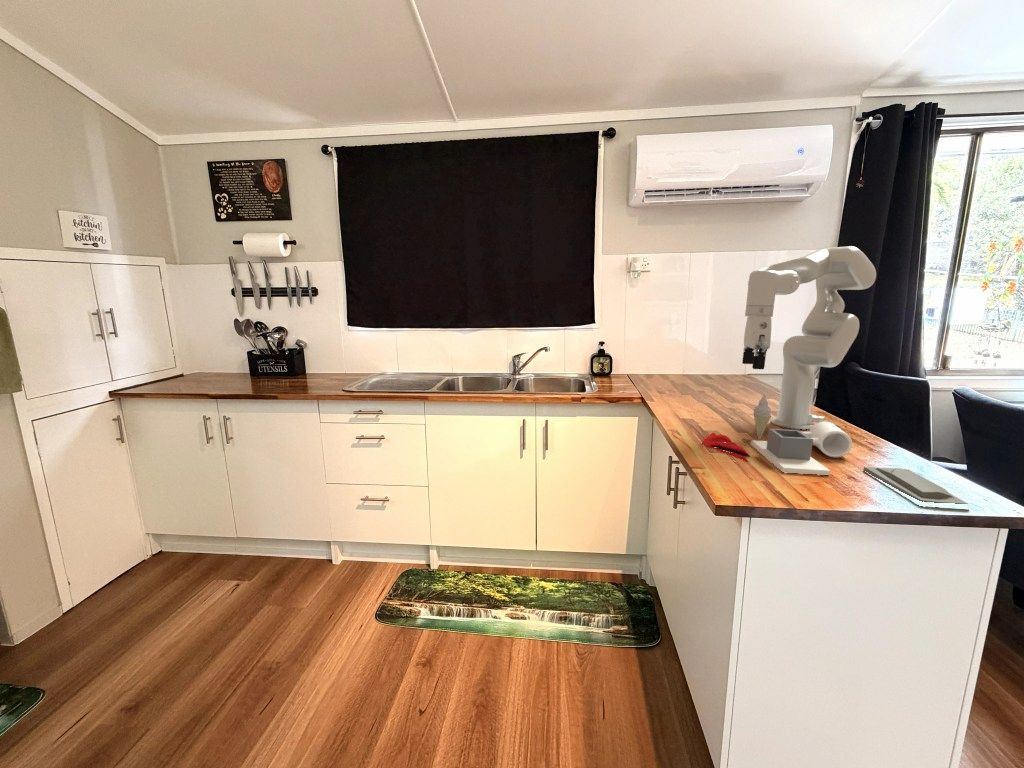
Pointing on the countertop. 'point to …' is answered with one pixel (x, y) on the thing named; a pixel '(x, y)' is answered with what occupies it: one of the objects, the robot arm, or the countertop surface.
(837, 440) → the mug
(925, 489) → the soap mold
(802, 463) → the box socket base
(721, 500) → the countertop surface
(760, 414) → the ice cream cone
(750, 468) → the countertop surface
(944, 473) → the countertop surface
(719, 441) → the red lips
